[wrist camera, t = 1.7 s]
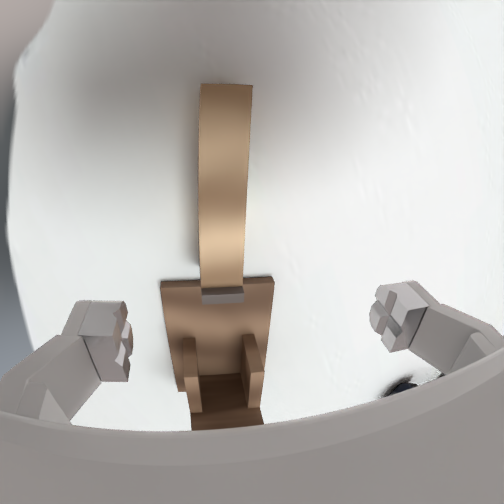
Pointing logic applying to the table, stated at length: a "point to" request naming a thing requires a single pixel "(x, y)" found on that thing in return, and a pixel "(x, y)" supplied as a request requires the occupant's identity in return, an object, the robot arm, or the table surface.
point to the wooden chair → (219, 351)
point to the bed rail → (223, 189)
